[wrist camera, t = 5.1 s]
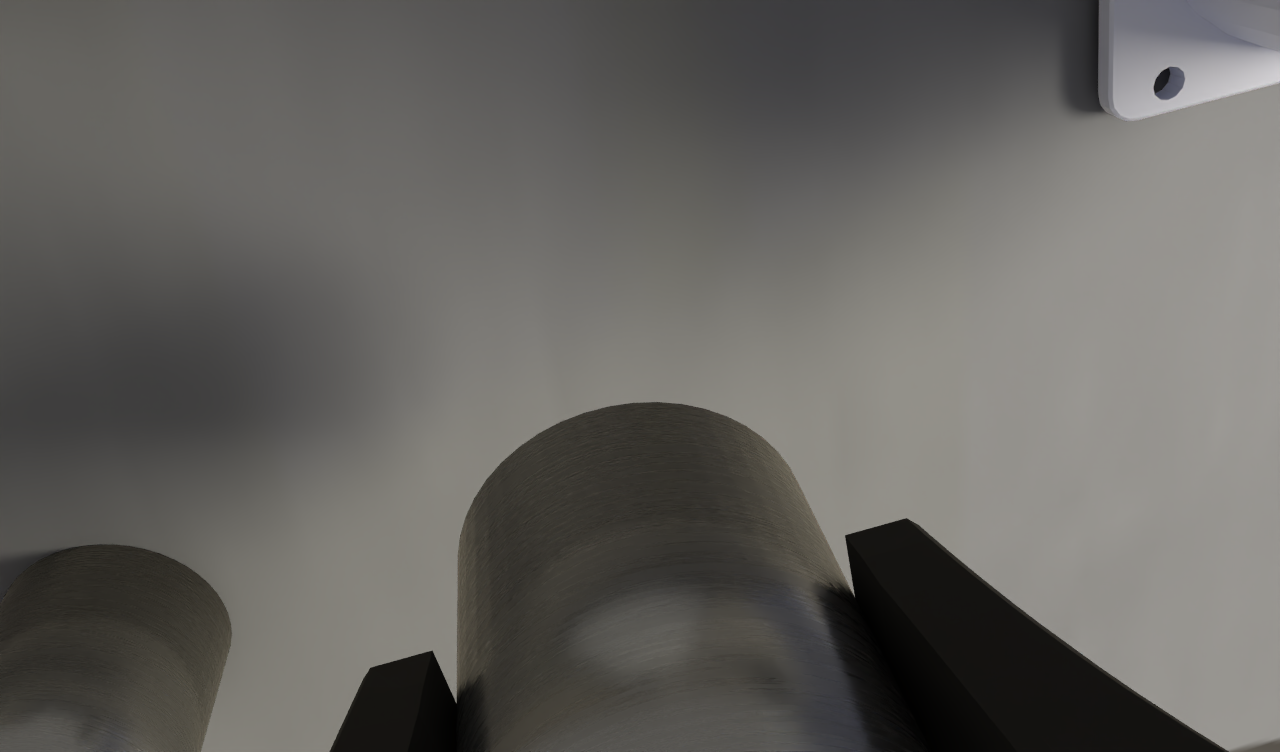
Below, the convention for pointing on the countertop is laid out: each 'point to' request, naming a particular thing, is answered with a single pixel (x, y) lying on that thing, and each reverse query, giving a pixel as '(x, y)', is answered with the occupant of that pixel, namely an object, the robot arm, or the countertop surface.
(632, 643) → the cylinder
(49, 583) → the cylinder
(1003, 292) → the countertop surface
